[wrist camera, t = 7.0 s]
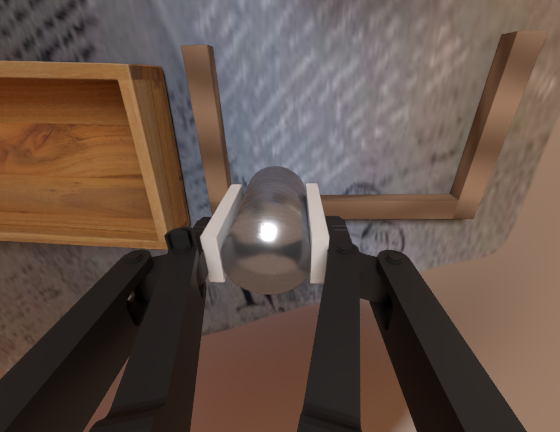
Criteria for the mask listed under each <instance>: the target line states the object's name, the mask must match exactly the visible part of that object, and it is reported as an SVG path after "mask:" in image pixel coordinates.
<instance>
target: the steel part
mask: <svg viewBox="0 0 560 432" xmlns="http://www.w3.org/2000/svg"><path fill="white" fill-rule="evenodd" d="M220 254H221V260H222V266H223V269H224V271H225V273H226V274H227V275H228V277H229V278H230V279H231V280H232V281H233V282H234V283H236V284H237V285H238V286H240V287H242V288H244V289H246V290H248V291H251V292H254V293H259V294H280V293H284V292H287V291H290V290H292V289H294V288H295V287H297V286H298V285H300V284H301V283H302V282H303V281H304V280H305V279H306V277H307V276H308V274H309V272H310V269H311V246H310V236H309V226H308V217H307V207H306V195H305V188H304V185H303V183H302V181H301V179H300V178H299V177H298V176H297V175H296V174H295V173H294V172H293V171H291V170H289V169H287V168H284V167H277V166H274V167H267V168H264V169H262V170H260V171H259V172H257V173H256V174H255V175H254V176H253V177H252V179H251V181H250V183H249V185H248V187H247V189H246V192H245V194H244V196H243V199H242V201H241V203H240V205H239V208H238V210H237V212H236V214H235V217H234V219H233V221H232V224H231V226H230V228H229V230H228V233H227V235H226V237H225V240H224V242H223V244H222V247H221V251H220Z"/></svg>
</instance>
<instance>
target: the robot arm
mask: <svg viewBox="0 0 560 432" xmlns="http://www.w3.org/2000/svg"><path fill="white" fill-rule="evenodd" d="M242 199H243V187H242V184H231V186H230V187H229V189H228V191H227V193H226V194H225V196H224V198H223V199H222V201H221V203H220V204H219V206H218V208H217V209H216V211H215V213H214V214H213V216H212V217H203V218H201V219H200V220H199V221H197V223H196V224H195V226H194V227H193V228H189V227H179V228H175V229H173V230H170V231H169V232H167V233H166V234H165V236H164V237H165V241H166V244H167V247H168V253H167V254H165V255H161V256H156V257H151V254H150V252H149V251H147V250H136V251H132V252H130V253H128V254H126V255H125V256H123V257H122V258H121V259H120V260H119V261H118V262H117V263H116V264H115V265H114V266H113V267H112V268H111V269H110V270H109V271H108V272H107V273H106V274H105V275H104V276H103V277H102V278H101V279H100V280H99V281H98V282H97V283H96V284H95V285H94V286H93V287H92V288H91V289H90V290H89V291H88V292H87V293H86V294H85V295H84V296H83V297H82V298H81V299H80V300H79V301H78V302H77V303H76V304H75V305H74V306H73V307H72V308H71V309H70V310H69V311H68V312H67V313H66V314H65V315H64V316H63V317H62V318H61V319H60V320H59V321H58V322H57V323H56V324H55V325H54V326H53V327H52V328H51V329H50V330H49V331H48V332H47V333H46V334H45V335H44V336H43V337H42V338H41V339H40V340H39V341H38V342H37V343H36V344H35V345H34V346H33V347H32V348H31V349H30V350H29V351H28V352H27V353H26V354H25V355H24V356H23V357H22V358H21V359H20V360H19V361H18V362H17V363H16V364H15V365H14V366H13V367H12V368H11V369H10V370H9V371H8V372H7V373H6V374H5V375H4V376H3V377H2V378H1V379H0V432H83V430H84V429H85V427H86V426H87V424H88V422H89V421H90V419H91V417H92V416H93V414H94V413H95V411H96V409H97V408H98V406H99V404H100V403H101V401H102V400H103V398H104V396H105V395H106V393H107V391H108V390H109V388H110V386H111V385H112V383H113V382H114V380H115V378H116V376H117V375H118V373H119V372H120V370H121V369H122V367H123V365H124V364H125V362H126V360H127V359H128V357H129V356H130V357H129V360H128V363H127V365H126V368H125V371H124V373H123V376H122V379H121V382H120V384H119V387H118V390H117V393H116V395H115V398H114V401H113V404H112V406H111V409H110V411H109V413H108V415H107V416H106V417H105V418H104V419H102V420H99V421H97V422H96V423H95V424H94V425H93V426H92V428H91V429H90V431H89V432H190V426H191V418H192V410H193V401H194V393H195V384H196V375H197V366H198V358H199V349H200V341H201V332H202V323H203V315H204V306H205V297H206V289H207V287H206V282H205V279H206V277H207V275H208V276H209V281H210V282H225V279H226V276H227V274H226V273H225V271H224V269H223V266H222V260H221V254H220V251H221V247H222V244H223V242H224V240H225V237H226V235H227V233H228V230H229V228H230V226H231V224H232V221H233V219H234V217H235V214H236V212H237V210H238V208H239V205H240V203H241V201H242ZM306 207H307V217H308V226H309V236H310V246H311V269H310V283H324V285H323V291H322V297H321V303H320V309H319V315H318V321H317V328H316V333H315V339H314V345H313V351H312V357H311V363H310V369H309V375H308V381H307V387H306V393H305V399H304V405H303V410H302V413H301V415H300V420H299V424H298V429H297V432H362V430H361V424H360V298H362V299H365V300H369V301H370V305H371V307H372V310H373V313H374V316H375V319H376V321H377V324H378V327H379V329H380V332H381V335H382V338H383V340H384V343H385V345H386V349H387V351H388V354H389V357H390V359H391V362H392V365H393V368H394V370H395V373H396V376H397V378H398V381H399V384H400V387H401V389H402V392H403V395H404V398H405V400H406V403H407V406H408V408H409V411H410V414H411V417H412V420H413V422H414V425H415V428H416V431H417V432H527V431H526V430H525V428H524V427H523V425H522V424H521V423H520V421H519V420H518V418H517V417H516V415H515V414H514V412H513V411H512V409H511V408H510V406H509V405H508V403H507V402H506V401H505V399H504V397H503V396H502V395H501V393H500V392H499V390H498V389H497V387H496V386H495V384H494V383H493V381H492V380H491V379H490V377H489V375H488V374H487V372H486V371H485V369H484V368H483V367H482V365H481V364H480V362H479V361H478V359H477V358H476V356H475V355H474V353H473V352H472V350H471V349H470V347H469V346H468V344H467V343H466V342H465V340H464V338H463V337H462V335H461V334H460V333H459V331H458V330H457V328H456V327H455V325H454V324H453V322H452V321H451V319H450V318H449V316H448V315H447V313H446V312H445V310H444V309H443V307H442V306H441V305H440V303H439V302H438V300H437V299H436V297H435V296H434V294H433V293H432V291H431V290H430V288H429V287H428V285H427V284H426V283H425V281H424V279H423V278H422V276H421V275H420V274H419V272H418V271H417V269H416V268H415V266H414V265H413V263H412V262H411V260H410V259H409V258H408V257H407V256H406V255H405V254H403V253H401V252H398V251H395V250H384V251H381V252H379V254H378V257H375V256H370V255H366V254H363V253H361V252H359V249H358V247H357V246H356V245H354V244H352V241H351V238H350V235H349V233H348V230H347V227H346V224H345V221H344V220H343V219H342V218H341V217H340V216H324V212H323V207H322V203H321V198H320V194H319V189H318V185H317V183H313V184H306ZM130 294H132V298H131V299H130V300H129V301H128V300H127V299H128V297H129V295H130Z"/></svg>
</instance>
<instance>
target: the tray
mask: <svg viewBox="0 0 560 432" xmlns="http://www.w3.org/2000/svg"><path fill="white" fill-rule="evenodd" d="M189 224H190V220H189V214H188V208H187V203H186V197H185V192H184V186H183V180H182V174H181V169H180V163H179V158H178V153H177V147H176V142H175V136H174V131H173V125H172V120H171V114H170V109H169V103H168V98H167V92H166V86H165V81H164V75H163V71H162V67H159V66H152V65H138V64H111V63H73V62H39V61H0V241H16V242H35V243H52V244H70V245H87V246H107V247H127V248H146V249H168V247H167V244H166V241H165V237H164V236H165V234H166V233H167V232H169V231H170V230H173V229H175V228H179V227H188V225H189Z"/></svg>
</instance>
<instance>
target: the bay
mask: <svg viewBox="0 0 560 432" xmlns="http://www.w3.org/2000/svg"><path fill="white" fill-rule="evenodd" d="M547 32H548V30H536V31H517V32H512V33H507V34H502V36H501V39H500V42H499V45H498V48H497V52H496V55H495V58H494V61H493V64H492V67H491V70H490V73H489V76H488V79H487V82H486V85H485V88H484V91H483V95H482V98H481V101H480V104H479V107H478V110H477V113H476V116H475V119H474V122H473V125H472V128H471V131H470V135H469V138H468V141H467V144H466V147H465V150H464V153H463V156H462V159H461V162H460V165H459V168H458V171H457V174H456V178H455V181H454V184H453V187H452V190H451V193H450V194H393V195H320V198H321V203H322V207H323V212H324V216H340V217H341V218H342V219H474V216H475V214H476V211H477V209H478V206H479V204H480V201H481V199H482V196H483V194H484V191H485V189H486V186H487V183H488V181H489V178H490V176H491V173H492V171H493V168H494V166H495V163H496V161H497V158H498V156H499V153H500V151H501V148H502V146H503V143H504V140H505V138H506V135H507V133H508V130H509V128H510V125H511V123H512V120H513V118H514V115H515V113H516V110H517V108H518V105H519V103H520V100H521V98H522V95H523V92H524V90H525V87H526V85H527V82H528V80H529V77H530V75H531V72H532V70H533V67H534V65H535V62H536V60H537V57H538V55H539V52H540V49H541V47H542V44H543V42H544V39H545V37H546V34H547ZM181 49H182V55H183V60H184V66H185V71H186V77H187V82H188V87H189V93H190V98H191V104H192V109H193V114H194V120H195V125H196V131H197V136H198V141H199V147H200V152H201V158H202V163H203V168H204V174H205V179H206V185H207V190H208V195H209V201H210V206H211V212H212V216H213V214H214V213H215V211H216V209H217V208H218V206H219V204H220V203H221V201H222V199H223V198H224V196H225V194H226V193H227V191H228V189H229V187H230V186H231V179H230V172H229V165H228V157H227V150H226V142H225V135H224V127H223V120H222V112H221V105H220V97H219V90H218V82H217V75H216V67H215V60H214V52H213V47H212V46H209V45H188V46H181Z"/></svg>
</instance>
